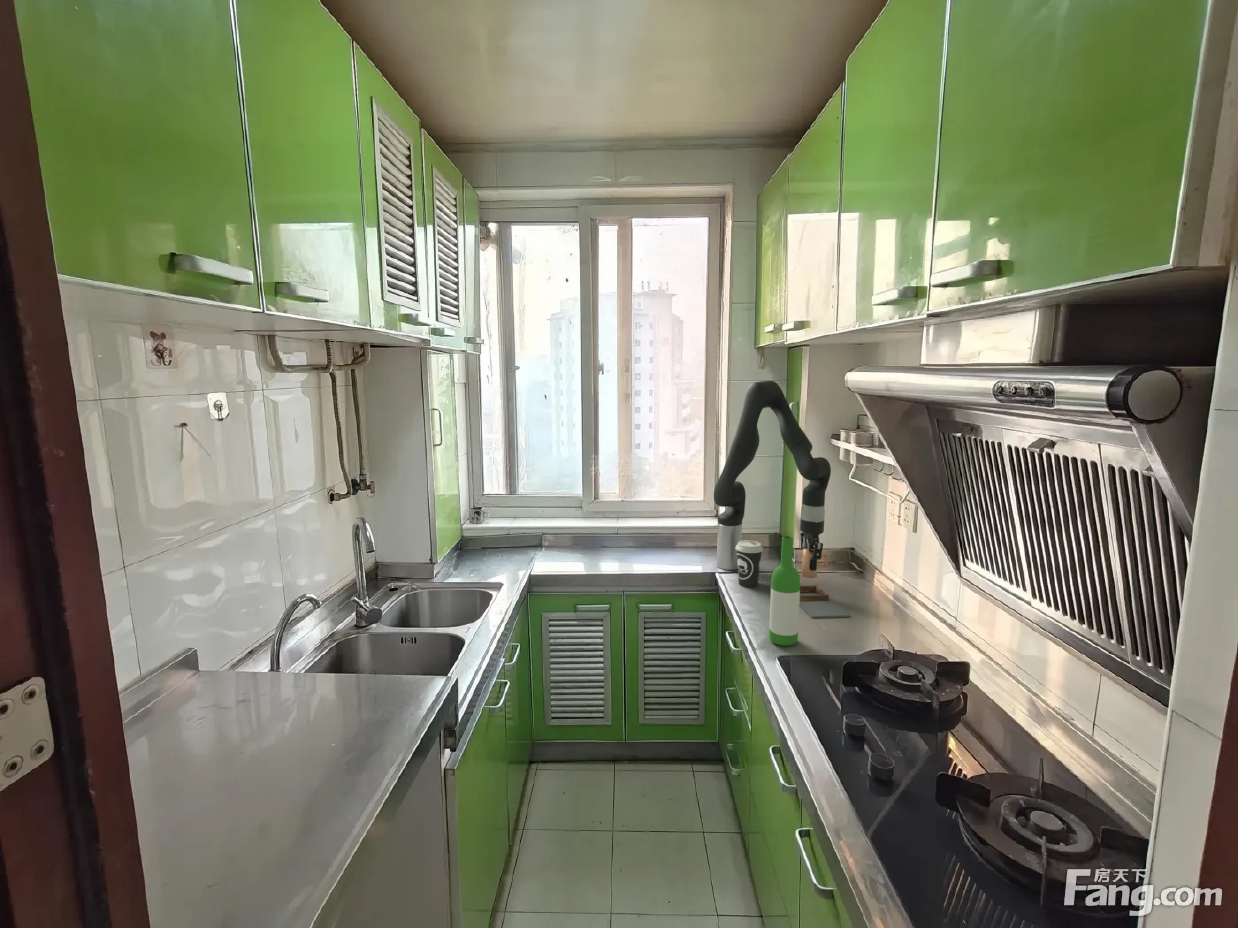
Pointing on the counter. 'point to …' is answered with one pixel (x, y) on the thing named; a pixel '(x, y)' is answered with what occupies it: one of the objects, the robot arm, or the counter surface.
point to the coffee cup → (748, 562)
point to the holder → (820, 597)
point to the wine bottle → (785, 598)
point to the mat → (823, 609)
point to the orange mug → (806, 562)
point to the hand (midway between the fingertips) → (809, 567)
